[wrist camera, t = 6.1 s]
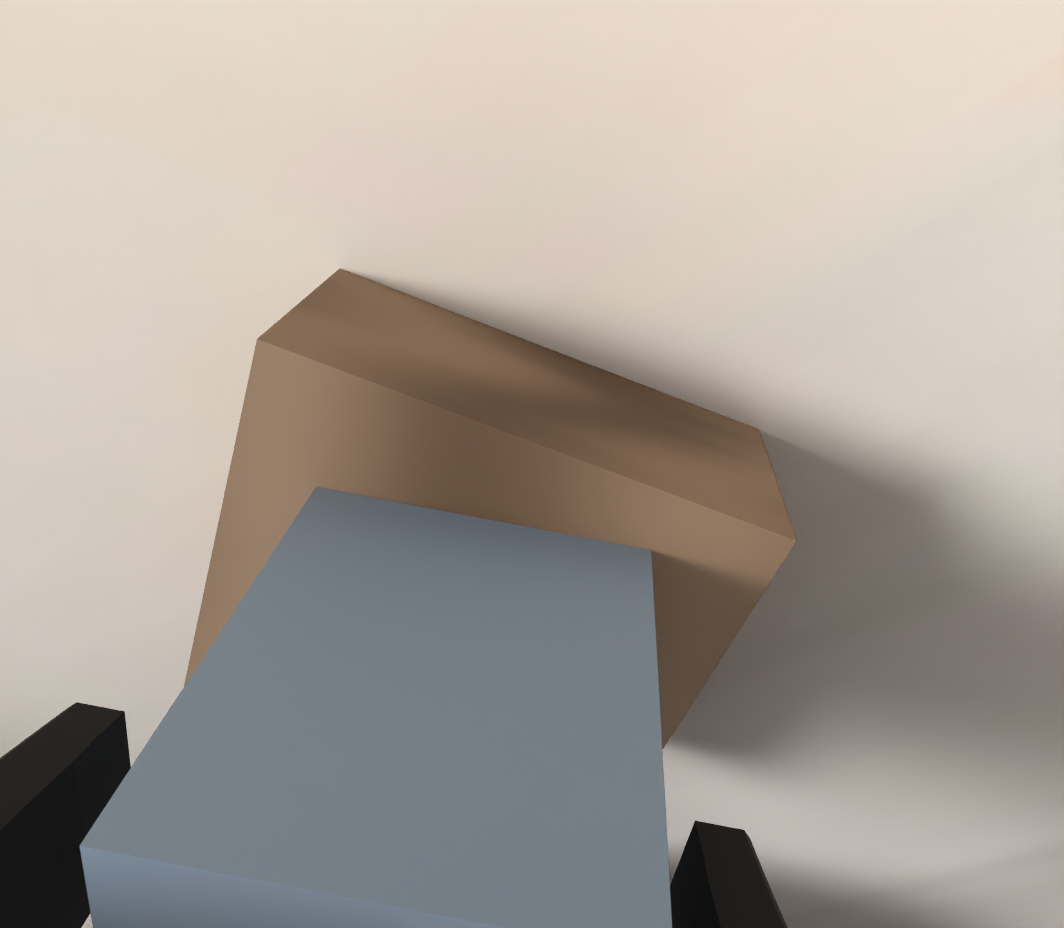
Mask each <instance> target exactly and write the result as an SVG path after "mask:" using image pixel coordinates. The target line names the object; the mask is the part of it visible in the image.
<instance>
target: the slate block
mask: <svg viewBox="0 0 1064 928" xmlns="http://www.w3.org/2000/svg"><path fill="white" fill-rule="evenodd" d="M80 852H81V858H82V864H83V870H84V876H85V882H86V888H87V894H88V900H89V906H90V912H91V918H92V924H93V928H672V915H671V898H670V880H669V862H668V844H667V826H666V808H665V790H664V772H663V754H662V736H661V718H660V701H659V683H658V665H657V647H656V629H655V611H654V593H653V575H652V557H651V550H648V549H643V548H637V547H632V546H627V545H621V544H616V543H611V542H605V541H600V540H595V539H590V538H584V537H579V536H574V535H568V534H563V533H558V532H552V531H547V530H542V529H537V528H531V527H526V526H521V525H515V524H510V523H505V522H499V521H494V520H489V519H483V518H478V517H473V516H468V515H462V514H457V513H452V512H446V511H441V510H436V509H430V508H425V507H420V506H415V505H409V504H404V503H399V502H393V501H388V500H383V499H377V498H372V497H367V496H362V495H356V494H351V493H346V492H340V491H335V490H330V489H324V488H319V487H316V488H315V489H314V491H313V492H312V494H311V495H310V497H309V498H308V500H307V501H306V503H305V504H304V506H303V507H302V509H301V511H300V512H299V514H298V515H297V517H296V518H295V520H294V521H293V523H292V524H291V526H290V527H289V529H288V530H287V532H286V533H285V535H284V536H283V538H282V539H281V541H280V542H279V544H278V545H277V547H276V548H275V550H274V551H273V553H272V555H271V556H270V558H269V559H268V561H267V562H266V564H265V565H264V567H263V568H262V570H261V571H260V573H259V574H258V576H257V577H256V579H255V580H254V582H253V583H252V585H251V586H250V588H249V589H248V591H247V592H246V594H245V595H244V597H243V598H242V600H241V602H240V603H239V605H238V606H237V608H236V609H235V611H234V612H233V614H232V615H231V617H230V618H229V620H228V621H227V623H226V624H225V626H224V627H223V629H222V630H221V632H220V633H219V635H218V636H217V638H216V639H215V641H214V642H213V644H212V646H211V647H210V649H209V650H208V652H207V653H206V655H205V656H204V658H203V659H202V661H201V662H200V664H199V665H198V667H197V668H196V670H195V671H194V673H193V674H192V676H191V677H190V679H189V680H188V682H187V683H186V685H185V686H184V688H183V690H182V691H181V693H180V694H179V696H178V697H177V699H176V700H175V702H174V703H173V705H172V706H171V708H170V709H169V711H168V712H167V714H166V715H165V717H164V718H163V720H162V721H161V723H160V724H159V726H158V727H157V729H156V730H155V732H154V733H153V735H152V737H151V738H150V740H149V741H148V743H147V744H146V746H145V747H144V749H143V750H142V752H141V753H140V755H139V756H138V758H137V759H136V761H135V762H134V764H133V765H132V767H131V768H130V770H129V771H128V773H127V774H126V776H125V777H124V779H123V781H122V782H121V784H120V785H119V787H118V788H117V790H116V791H115V793H114V794H113V796H112V797H111V799H110V800H109V802H108V803H107V805H106V806H105V808H104V809H103V811H102V812H101V814H100V815H99V817H98V818H97V820H96V821H95V823H94V824H93V826H92V828H91V829H90V831H89V832H88V834H87V835H86V837H85V838H84V840H83V841H82V843H81V844H80Z"/></svg>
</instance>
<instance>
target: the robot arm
mask: <svg viewBox="0 0 1064 928" xmlns="http://www.w3.org/2000/svg"><path fill="white" fill-rule="evenodd" d="M130 768H131V767H130V758H129V749H128V740H127V731H126V722H125V712H124V711H119V710H114V709H108V708H103V707H98V706H93V705H88V704H82V703H75V704H74V705H72V706H70V707H69V708H67V709H66V710H65V711H63V712H62V713H60V714H59V715H58V716H56V717H55V718H54V719H52V720H51V721H50V722H48V723H47V724H45V725H44V726H43V727H41V728H40V729H39V730H37V731H36V732H35V733H33V734H32V735H31V736H29V737H28V738H27V739H25V740H24V741H23V742H21V743H20V744H18V745H17V746H16V747H14V748H13V749H12V750H10V751H9V752H8V753H6V754H5V755H4V756H2V757H1V758H0V928H81V927H82V926H83V924H84V922H85V921H86V919H87V917H88V916H89V914H90V913H91V912H90V906H89V900H88V894H87V888H86V882H85V876H84V870H83V864H82V858H81V852H80V844H81V843H82V841H83V840H84V838H85V837H86V835H87V834H88V832H89V831H90V829H91V828H92V826H93V824H94V823H95V821H96V820H97V818H98V817H99V815H100V814H101V812H102V811H103V809H104V808H105V806H106V805H107V803H108V802H109V800H110V799H111V797H112V796H113V794H114V793H115V791H116V790H117V788H118V787H119V785H120V784H121V782H122V781H123V779H124V777H125V776H126V774H127V773H128V771H129V770H130ZM670 898H671V915H672V928H787V926H786V923H785V921H784V919H783V917H782V914H781V912H780V910H779V907H778V905H777V903H776V900H775V898H774V896H773V893H772V891H771V889H770V886H769V884H768V882H767V879H766V877H765V874H764V872H763V869H762V867H761V865H760V862H759V860H758V857H757V855H756V852H755V850H754V847H753V845H752V842H751V840H750V838H749V836H748V835H747V834H746V832H745V831H744V830H741V829H735V828H730V827H725V826H720V825H715V824H709V823H704V822H699V821H695V823H694V825H693V828H692V830H691V833H690V836H689V838H688V841H687V843H686V846H685V849H684V851H683V854H682V857H681V859H680V862H679V864H678V867H677V870H676V872H675V875H674V877H673V880H672V883H671V885H670Z"/></svg>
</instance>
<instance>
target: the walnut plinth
mask: <svg viewBox="0 0 1064 928" xmlns="http://www.w3.org/2000/svg"><path fill="white" fill-rule="evenodd" d="M316 487H319V488H324V489H330V490H335V491H340V492H346V493H351V494H356V495H362V496H367V497H372V498H377V499H383V500H388V501H393V502H399V503H404V504H409V505H415V506H420V507H425V508H430V509H436V510H441V511H446V512H452V513H457V514H462V515H468V516H473V517H478V518H483V519H489V520H494V521H499V522H505V523H510V524H515V525H521V526H526V527H531V528H537V529H542V530H547V531H552V532H558V533H563V534H568V535H574V536H579V537H584V538H590V539H595V540H600V541H605V542H611V543H616V544H621V545H627V546H632V547H637V548H643V549H648V550H651V557H652V575H653V593H654V611H655V629H656V647H657V665H658V683H659V701H660V718H661V736H662V749H663V748H664V746H665V745H666V743H667V742H668V740H669V739H670V737H671V735H672V734H673V732H674V731H675V729H676V728H677V726H678V725H679V723H680V721H681V720H682V718H683V717H684V715H685V714H686V712H687V711H688V709H689V707H690V706H691V704H692V703H693V701H694V700H695V698H696V697H697V695H698V693H699V692H700V690H701V689H702V687H703V686H704V684H705V683H706V681H707V679H708V678H709V676H710V675H711V673H712V672H713V670H714V669H715V667H716V666H717V664H718V662H719V661H720V659H721V658H722V656H723V655H724V653H725V652H726V650H727V648H728V647H729V645H730V644H731V642H732V641H733V639H734V638H735V636H736V634H737V633H738V631H739V630H740V628H741V627H742V625H743V624H744V622H745V620H746V619H747V617H748V616H749V614H750V613H751V611H752V610H753V608H754V606H755V605H756V603H757V602H758V600H759V599H760V597H761V596H762V594H763V592H764V591H765V589H766V588H767V586H768V585H769V583H770V582H771V580H772V578H773V577H774V575H775V574H776V572H777V571H778V569H779V568H780V566H781V564H782V563H783V561H784V560H785V558H786V557H787V555H788V554H789V552H790V550H791V549H792V547H793V546H794V544H795V543H796V541H797V540H796V537H795V534H794V531H793V528H792V525H791V523H790V520H789V517H788V514H787V511H786V508H785V505H784V502H783V499H782V496H781V493H780V490H779V487H778V484H777V481H776V478H775V475H774V472H773V469H772V466H771V464H770V461H769V458H768V455H767V452H766V449H765V446H764V443H763V440H762V437H761V434H760V431H759V430H758V429H756V428H753V427H751V426H748V425H745V424H743V423H740V422H738V421H735V420H732V419H730V418H727V417H725V416H722V415H719V414H717V413H714V412H711V411H709V410H706V409H704V408H701V407H698V406H696V405H693V404H691V403H688V402H685V401H683V400H680V399H678V398H675V397H672V396H670V395H667V394H665V393H662V392H659V391H657V390H654V389H652V388H649V387H646V386H644V385H641V384H639V383H636V382H633V381H631V380H628V379H626V378H623V377H620V376H618V375H615V374H613V373H610V372H607V371H605V370H602V369H600V368H597V367H594V366H592V365H589V364H587V363H584V362H581V361H579V360H576V359H574V358H571V357H568V356H566V355H563V354H561V353H558V352H555V351H553V350H550V349H548V348H545V347H542V346H540V345H537V344H535V343H532V342H529V341H527V340H524V339H522V338H519V337H516V336H514V335H511V334H509V333H506V332H503V331H501V330H498V329H496V328H493V327H490V326H488V325H485V324H483V323H480V322H477V321H475V320H472V319H469V318H467V317H464V316H462V315H459V314H456V313H454V312H451V311H449V310H446V309H443V308H441V307H438V306H436V305H433V304H430V303H428V302H425V301H423V300H420V299H417V298H415V297H412V296H410V295H407V294H404V293H402V292H399V291H397V290H394V289H391V288H389V287H386V286H384V285H381V284H378V283H376V282H373V281H371V280H368V279H365V278H363V277H360V276H358V275H355V274H352V273H350V272H347V271H345V270H342V269H339V270H337V271H336V272H335V273H334V274H333V275H332V276H330V277H329V278H328V279H327V280H326V281H325V282H323V283H322V284H321V285H320V286H319V287H318V288H316V289H315V290H314V291H313V292H312V293H311V294H309V295H308V296H307V297H306V298H305V299H303V300H302V301H301V302H300V303H299V304H298V305H296V306H295V307H294V308H293V309H292V310H291V311H289V312H288V313H287V314H286V315H285V316H284V317H282V318H281V319H280V320H279V321H278V322H277V323H275V324H274V325H273V326H272V327H271V328H270V329H268V330H267V331H266V332H265V333H264V334H262V335H261V336H260V337H259V338H258V339H257V342H256V347H255V352H254V356H253V361H252V366H251V371H250V375H249V380H248V385H247V390H246V394H245V399H244V404H243V409H242V413H241V418H240V423H239V428H238V433H237V437H236V442H235V447H234V452H233V456H232V461H231V466H230V471H229V475H228V480H227V485H226V490H225V494H224V499H223V504H222V509H221V513H220V518H219V523H218V528H217V532H216V537H215V542H214V547H213V551H212V556H211V561H210V566H209V571H208V575H207V580H206V585H205V590H204V594H203V599H202V604H201V609H200V613H199V618H198V623H197V628H196V632H195V637H194V642H193V647H192V651H191V656H190V661H189V666H188V670H187V675H186V680H185V685H186V683H187V682H188V680H189V679H190V677H191V676H192V674H193V673H194V671H195V670H196V668H197V667H198V665H199V664H200V662H201V661H202V659H203V658H204V656H205V655H206V653H207V652H208V650H209V649H210V647H211V646H212V644H213V642H214V641H215V639H216V638H217V636H218V635H219V633H220V632H221V630H222V629H223V627H224V626H225V624H226V623H227V621H228V620H229V618H230V617H231V615H232V614H233V612H234V611H235V609H236V608H237V606H238V605H239V603H240V602H241V600H242V598H243V597H244V595H245V594H246V592H247V591H248V589H249V588H250V586H251V585H252V583H253V582H254V580H255V579H256V577H257V576H258V574H259V573H260V571H261V570H262V568H263V567H264V565H265V564H266V562H267V561H268V559H269V558H270V556H271V555H272V553H273V551H274V550H275V548H276V547H277V545H278V544H279V542H280V541H281V539H282V538H283V536H284V535H285V533H286V532H287V530H288V529H289V527H290V526H291V524H292V523H293V521H294V520H295V518H296V517H297V515H298V514H299V512H300V511H301V509H302V507H303V506H304V504H305V503H306V501H307V500H308V498H309V497H310V495H311V494H312V492H313V491H314V489H315V488H316ZM185 685H184V686H185Z"/></svg>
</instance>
